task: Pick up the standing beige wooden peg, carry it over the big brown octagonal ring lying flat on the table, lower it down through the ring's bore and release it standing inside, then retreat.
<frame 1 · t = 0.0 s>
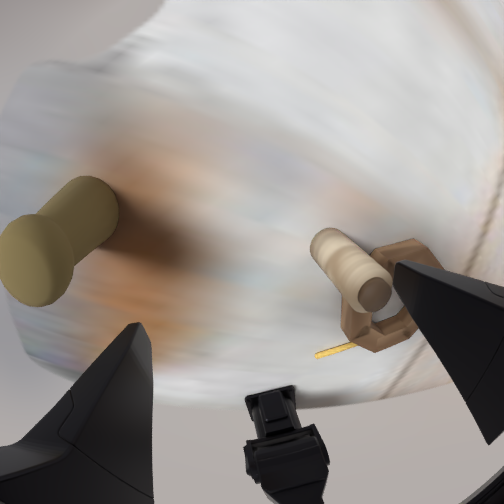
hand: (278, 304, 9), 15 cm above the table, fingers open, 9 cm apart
thin yellow rod: (343, 345, 32), on the table
brown octagonal ring: (389, 293, 30), on the table
beige wooden peg: (328, 246, 26), on the table
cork: (87, 210, 20), on the table
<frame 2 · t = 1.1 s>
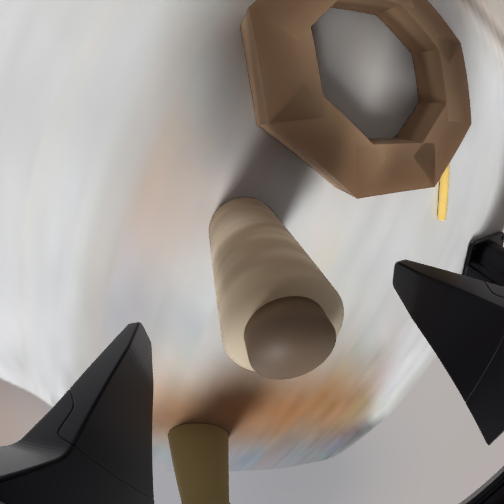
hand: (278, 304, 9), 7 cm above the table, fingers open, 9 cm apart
thin yellow rod: (441, 166, 15), on the table
brown octagonal ring: (364, 71, 12), on the table
beige wooden peg: (243, 230, 15), on the table
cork: (198, 435, 23), on the table
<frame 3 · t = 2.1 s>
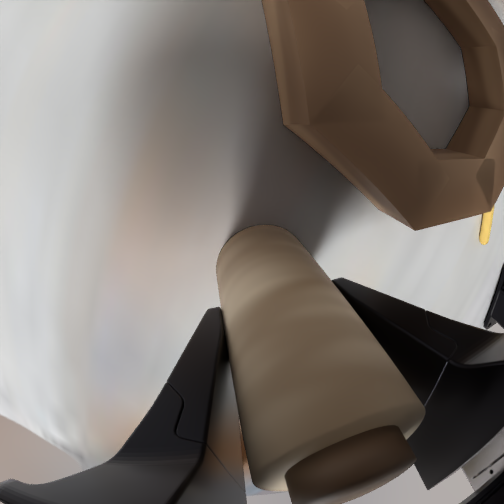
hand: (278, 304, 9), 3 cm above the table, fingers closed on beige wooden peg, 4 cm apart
thin yellow rod: (487, 182, 12), on the table
brown octagonal ring: (415, 63, 8), on the table
beige wooden peg: (261, 267, 11), on the table, touching gripper
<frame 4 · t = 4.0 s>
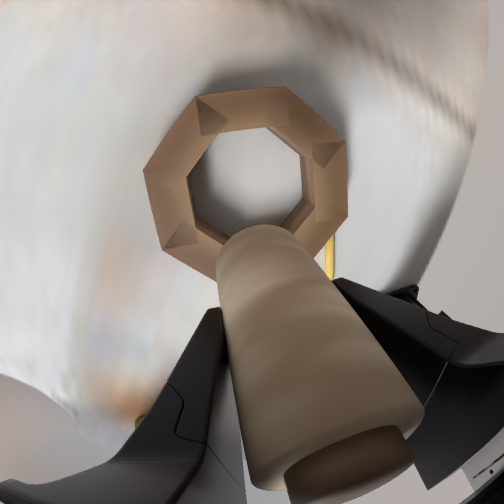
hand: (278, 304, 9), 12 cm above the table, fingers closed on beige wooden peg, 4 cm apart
thin yellow rod: (327, 245, 23), on the table
brown octagonal ring: (247, 184, 20), on the table
beige wooden peg: (261, 267, 11), point 10 cm above the table, touching gripper
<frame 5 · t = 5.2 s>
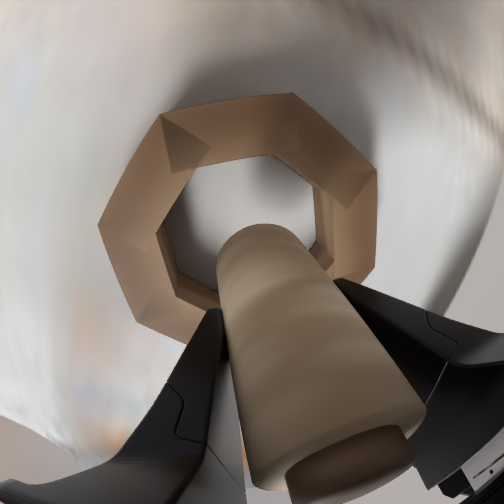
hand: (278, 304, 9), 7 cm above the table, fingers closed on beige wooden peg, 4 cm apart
brown octagonal ring: (243, 228, 15), on the table
beige wooden peg: (261, 266, 11), point 4 cm above the table, touching gripper
when the fingers open (3 cm above the table, at t = 6.1 s): beige wooden peg stays where it is, resting in brown octagonal ring.
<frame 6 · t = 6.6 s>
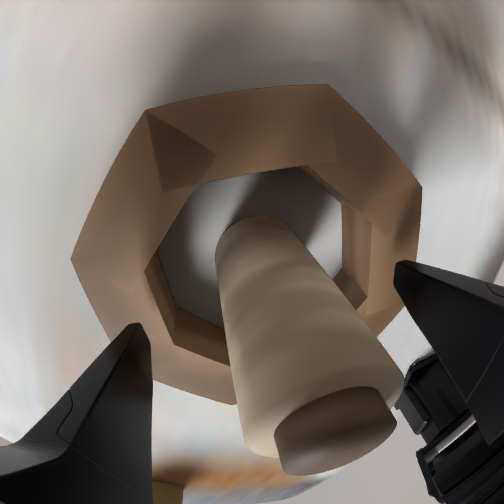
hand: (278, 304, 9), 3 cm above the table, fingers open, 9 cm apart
brown octagonal ring: (256, 256, 12), on the table
beige wooden peg: (257, 256, 12), resting in brown octagonal ring
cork: (158, 486, 23), on the table
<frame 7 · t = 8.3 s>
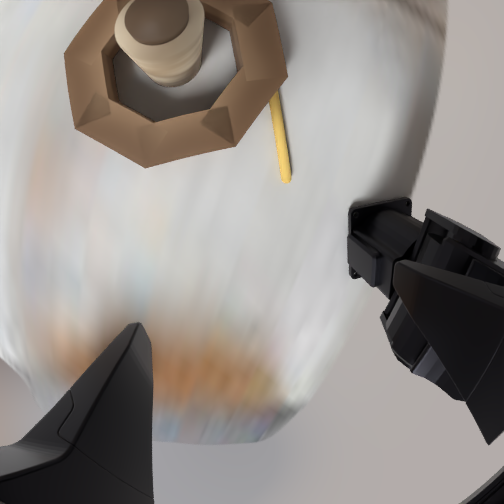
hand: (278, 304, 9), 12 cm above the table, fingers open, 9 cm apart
thin yellow rod: (277, 128, 18), on the table
brown octagonal ring: (173, 62, 15), on the table
beige wooden peg: (173, 62, 15), resting in brown octagonal ring
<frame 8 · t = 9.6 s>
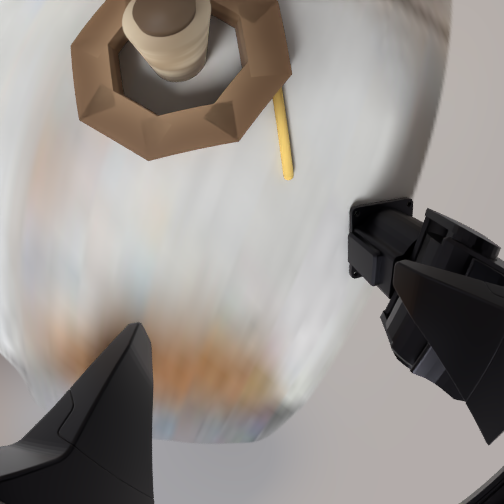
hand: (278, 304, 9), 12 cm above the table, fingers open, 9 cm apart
thin yellow rod: (280, 125, 18), on the table
brown octagonal ring: (178, 58, 15), on the table
beige wooden peg: (179, 57, 15), resting in brown octagonal ring
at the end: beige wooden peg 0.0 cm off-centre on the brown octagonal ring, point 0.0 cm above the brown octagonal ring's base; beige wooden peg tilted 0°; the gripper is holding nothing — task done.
